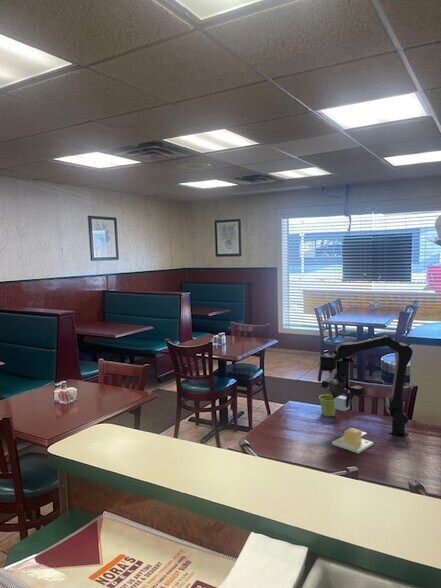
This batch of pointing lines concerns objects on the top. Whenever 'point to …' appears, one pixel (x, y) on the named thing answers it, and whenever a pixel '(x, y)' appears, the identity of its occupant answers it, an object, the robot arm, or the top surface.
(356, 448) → the base board
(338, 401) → the slate brick
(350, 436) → the yellow cube
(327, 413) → the plant pot
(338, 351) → the robot arm
